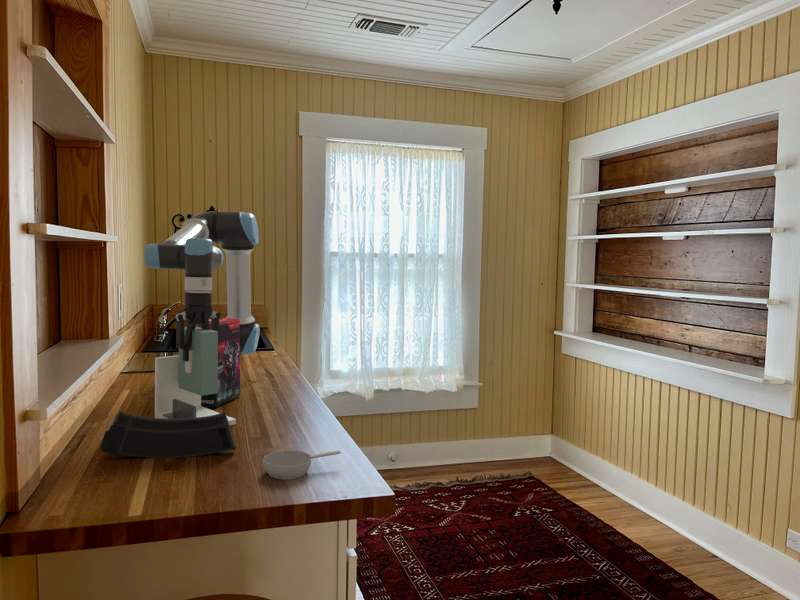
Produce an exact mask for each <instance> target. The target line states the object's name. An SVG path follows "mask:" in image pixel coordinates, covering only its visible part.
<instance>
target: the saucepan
mask: <svg viewBox="0 0 800 600" xmlns="http://www.w3.org/2000/svg"><path fill="white" fill-rule="evenodd" d="M340 454H341V451H340V450H334V451H329V452H323V453H316V454H315V453H314V454H310V453H308V452H305V451H299V450H293V449H292V450H287V449H286V450H278V451H274V452H271V453H268V454H266V455H264V457H263V467H264V470H265V472H266V473H267V475H268V474H269V475H268V476H269V477H270V476H271V478H272V477H273V479H277V480H283V481H285V480H286V479H287V480H295V479H298V478H302V477H303V476H305V475H306V474H307V472H308V470H309V469H310V467H311V464H312V463H311V462H312V459H317V458H322V457H328V456H334V455H340Z"/></svg>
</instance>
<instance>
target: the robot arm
mask: <svg viewBox="0 0 800 600" xmlns="http://www.w3.org/2000/svg"><path fill="white" fill-rule="evenodd" d="M259 233H260V232H259V226H258V223H257V219H256V216H255V215H254V214H253V213H250V212H243V211H217V210H213V211H211V210H210V211H206V212H205V211H204V212H201V213H198V214H196V215H194V216H191V217H190V218H188V219H187V220H185V222H183V224H182V227H181V228H180V229H178V231H175V233H174V234H172V235H171V236H170V237H168V238H166V240H164V241H163V242H162V243H157V242H155V243H149V244H147V245H146V246H145V248H144V252H143V258H144V259H143V260H144V263H145V265H146V267H147V268H149V269H157V270H184V291H186V292H185V293H184V309H183V312H181V313H175V314H174V318H175V322H176V325H175V329H176V330H175V347H176V348H177V349H179V348H180V349H182V350H183V361H185V372H188V373H192V350H190V346H191V342H192V331H193V330H195V327H198V326H197V325H198V324H199V323H200V325H201V327H202V329H209V330H210V327H209V325H210V323H209V321H211V330H214V331H218V345H219V319H221V316H222V313H221V312H219V311H214V310H213V308H212V305H213V293H212V290H213V271H215V270H217V269H219V268H220V267H221V266H222V265H223V262H224V259H226V260H225V261H226V262H225V263H226V266H225V267H226V290H227V291H226V297H227V299H226V300H227V302H226V303H227V315H226V317H225V318H234V319H239V320H240V355H252V354H254V353H255V352H256V350H257V347H258V343H259V338H260V333H261V329H260V324H258V323H256V319H255V317H254V316H253V315H252V305H251V304H252V303H251V301H252V300H251V298H252V297H251V293H252V292H251V289H252V288H251V286H252V285H251V253H252V252H253V251H254V250H255V246H256V245H258V244H259V242H260V241H259V240H260V238H259V237H260V234H259ZM213 244H221V249H220V248H218V247H217V246H215V245H213ZM223 252H225V257H226V258H224V254H223ZM210 318H211V319H210ZM186 319H187V321H186V323H185V320H186ZM185 324H186V326H185ZM184 327H187V328H186V332H185V336H184Z"/></svg>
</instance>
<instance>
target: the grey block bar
mask: <svg viewBox="0 0 800 600" xmlns="http://www.w3.org/2000/svg"><path fill="white" fill-rule="evenodd" d="M163 416H164V417H166V418H168V419H181V418H195V417H196V406H193V405H190V404H188V403H185V402H183V401H180V400H177V399H173V413H167V414H163Z"/></svg>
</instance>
